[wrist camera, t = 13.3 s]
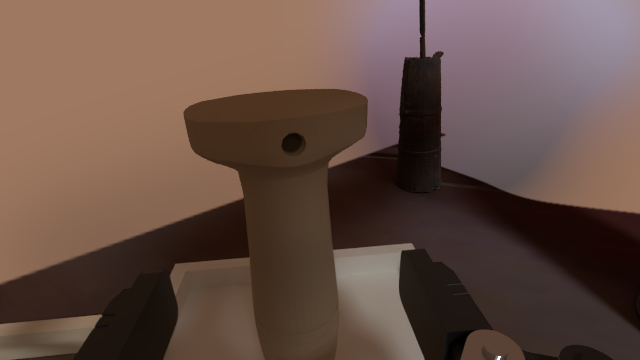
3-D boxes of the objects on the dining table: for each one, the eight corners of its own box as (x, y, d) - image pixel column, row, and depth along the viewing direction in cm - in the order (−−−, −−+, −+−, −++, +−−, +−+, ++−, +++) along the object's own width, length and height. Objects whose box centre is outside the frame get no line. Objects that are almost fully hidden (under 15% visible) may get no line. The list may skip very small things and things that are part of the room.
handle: (239, 360, 20) (187, 99, 14) (344, 331, 21) (340, 85, 15) (247, 449, 16) (177, 131, 9) (377, 406, 17) (390, 107, 11)
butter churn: (432, 162, 48) (457, -83, 36) (480, 190, 40) (533, -116, 28) (372, 172, 46) (378, -86, 34) (410, 204, 37) (436, -123, 26)
